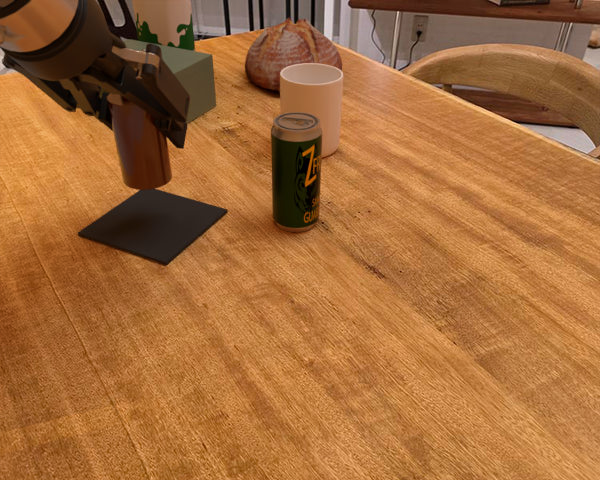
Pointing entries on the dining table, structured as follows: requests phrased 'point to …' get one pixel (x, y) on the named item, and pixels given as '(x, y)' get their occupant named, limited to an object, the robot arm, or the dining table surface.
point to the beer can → (296, 170)
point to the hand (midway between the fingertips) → (156, 133)
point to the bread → (287, 52)
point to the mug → (315, 98)
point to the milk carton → (165, 22)
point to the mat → (154, 224)
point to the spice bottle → (139, 145)
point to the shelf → (187, 75)
